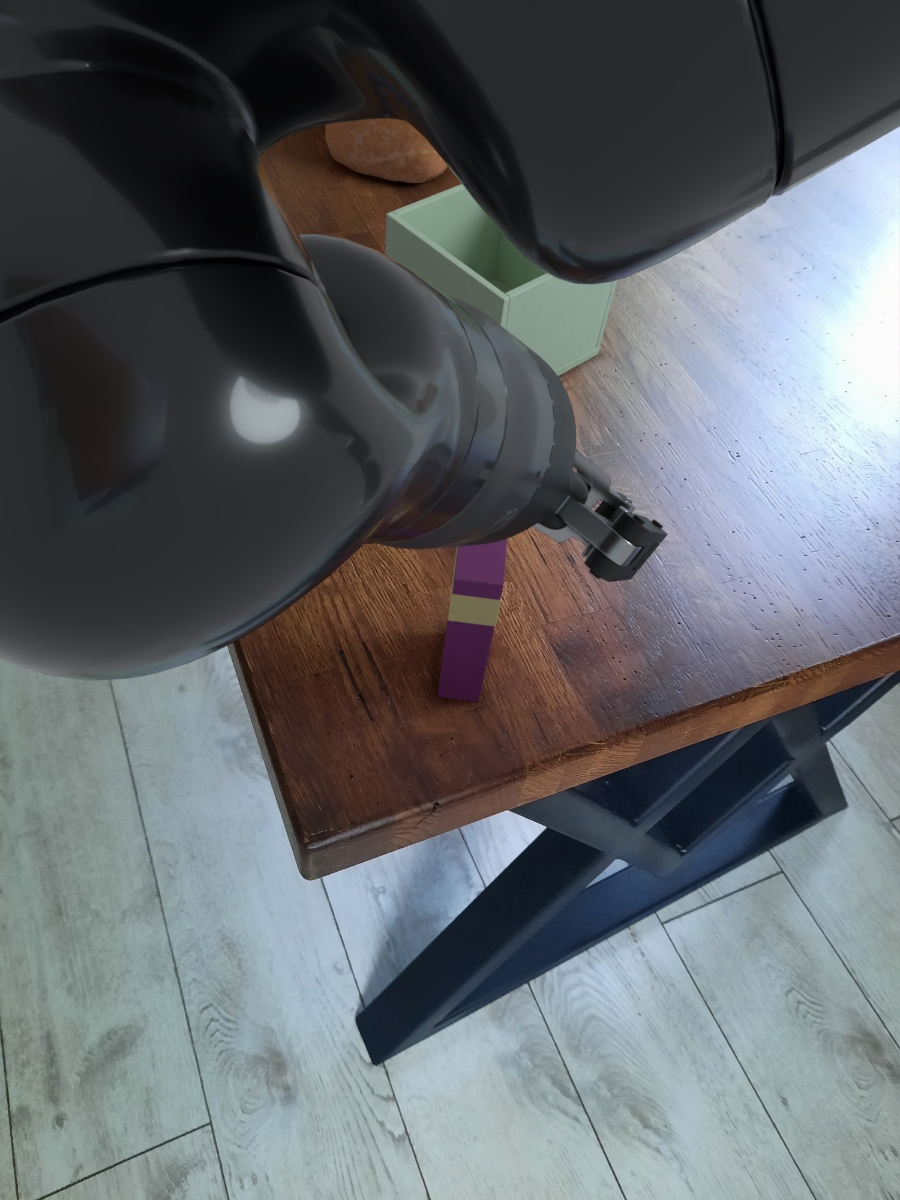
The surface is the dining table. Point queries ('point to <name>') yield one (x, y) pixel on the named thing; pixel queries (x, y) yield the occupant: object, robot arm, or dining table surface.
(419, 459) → the robot arm
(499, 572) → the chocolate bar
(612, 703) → the dining table surface
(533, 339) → the open storage box
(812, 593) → the dining table surface
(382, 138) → the bread
